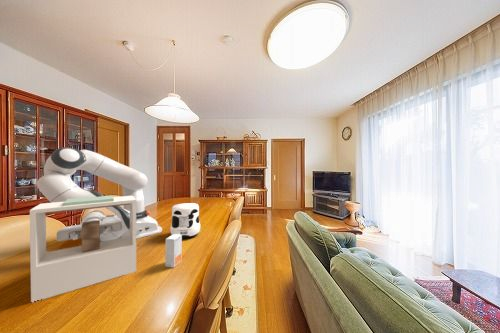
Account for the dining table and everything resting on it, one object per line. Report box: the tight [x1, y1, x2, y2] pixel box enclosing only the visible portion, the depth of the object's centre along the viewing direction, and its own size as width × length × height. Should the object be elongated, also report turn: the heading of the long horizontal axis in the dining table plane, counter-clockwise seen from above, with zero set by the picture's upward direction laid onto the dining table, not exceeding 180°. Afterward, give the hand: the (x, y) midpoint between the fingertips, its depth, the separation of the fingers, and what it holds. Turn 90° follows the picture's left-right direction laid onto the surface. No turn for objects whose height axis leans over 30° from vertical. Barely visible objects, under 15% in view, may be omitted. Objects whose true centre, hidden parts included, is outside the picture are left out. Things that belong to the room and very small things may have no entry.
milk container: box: [170, 202, 201, 239], centre depth 115 cm, size 17×17×18 cm
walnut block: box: [81, 220, 100, 253], centre depth 72 cm, size 5×5×10 cm
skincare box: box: [164, 234, 183, 268], centre depth 82 cm, size 6×4×12 cm
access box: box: [29, 195, 137, 303], centre depth 72 cm, size 28×12×30 cm, turn 127°
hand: (90, 235), depth 71 cm, fingers open, 7 cm apart
